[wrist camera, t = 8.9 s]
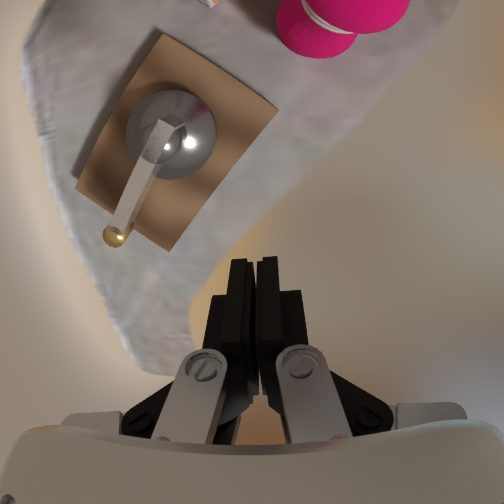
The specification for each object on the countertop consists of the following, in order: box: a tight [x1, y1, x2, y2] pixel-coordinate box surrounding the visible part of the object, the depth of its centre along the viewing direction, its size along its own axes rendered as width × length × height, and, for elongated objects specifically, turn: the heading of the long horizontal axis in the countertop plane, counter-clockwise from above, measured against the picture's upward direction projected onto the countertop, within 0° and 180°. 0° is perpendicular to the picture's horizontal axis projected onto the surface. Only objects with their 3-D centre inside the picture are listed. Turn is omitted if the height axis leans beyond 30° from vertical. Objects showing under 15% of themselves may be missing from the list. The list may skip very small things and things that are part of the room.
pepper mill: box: [276, 0, 410, 58], centre depth 16 cm, size 7×7×20 cm
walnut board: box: [75, 34, 279, 252], centre depth 30 cm, size 20×14×2 cm
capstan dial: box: [103, 90, 217, 248], centre depth 28 cm, size 16×9×5 cm, turn 147°
